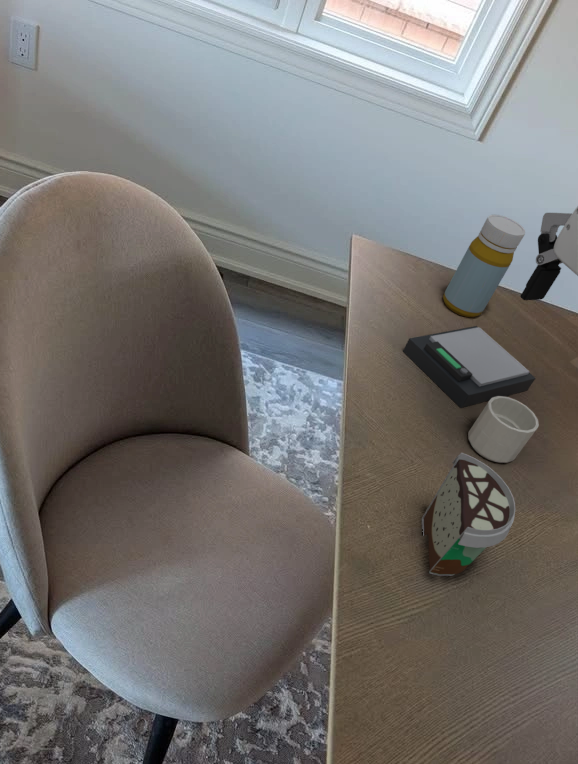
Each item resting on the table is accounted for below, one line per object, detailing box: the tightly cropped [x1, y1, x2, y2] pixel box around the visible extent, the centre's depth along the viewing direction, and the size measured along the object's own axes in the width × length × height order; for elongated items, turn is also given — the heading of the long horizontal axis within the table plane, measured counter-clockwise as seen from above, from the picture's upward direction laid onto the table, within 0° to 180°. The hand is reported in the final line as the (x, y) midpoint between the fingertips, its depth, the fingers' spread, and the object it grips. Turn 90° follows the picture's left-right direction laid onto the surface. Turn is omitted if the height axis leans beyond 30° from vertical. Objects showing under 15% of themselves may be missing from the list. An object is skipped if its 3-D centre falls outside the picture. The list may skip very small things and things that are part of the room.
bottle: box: [442, 214, 526, 318], centre depth 121 cm, size 7×7×15 cm
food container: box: [421, 452, 516, 577], centre depth 81 cm, size 12×6×10 cm, turn 170°
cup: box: [467, 396, 540, 464], centre depth 99 cm, size 7×7×6 cm
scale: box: [402, 325, 537, 409], centre depth 111 cm, size 15×13×4 cm
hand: (559, 324), depth 82 cm, fingers open, 9 cm apart
